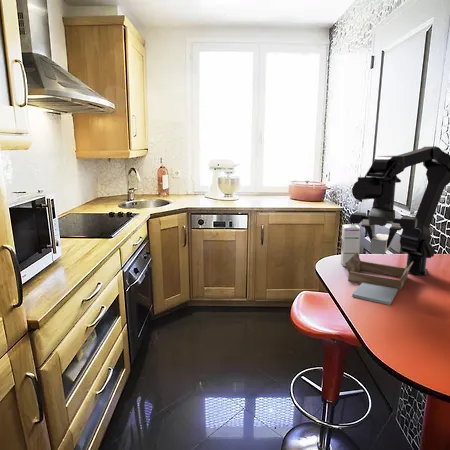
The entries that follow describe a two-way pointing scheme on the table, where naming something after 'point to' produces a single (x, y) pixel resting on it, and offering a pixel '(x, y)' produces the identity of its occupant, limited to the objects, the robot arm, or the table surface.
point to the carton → (356, 265)
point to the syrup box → (350, 242)
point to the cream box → (379, 244)
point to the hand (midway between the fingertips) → (380, 246)
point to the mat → (375, 293)
